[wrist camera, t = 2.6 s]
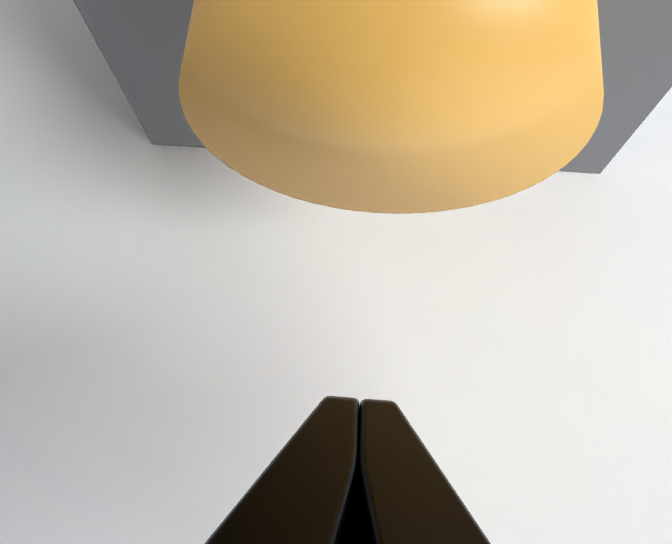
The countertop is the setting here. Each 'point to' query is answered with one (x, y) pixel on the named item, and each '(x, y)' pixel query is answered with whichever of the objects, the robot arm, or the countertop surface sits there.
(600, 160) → the block
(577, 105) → the button
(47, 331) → the countertop surface
